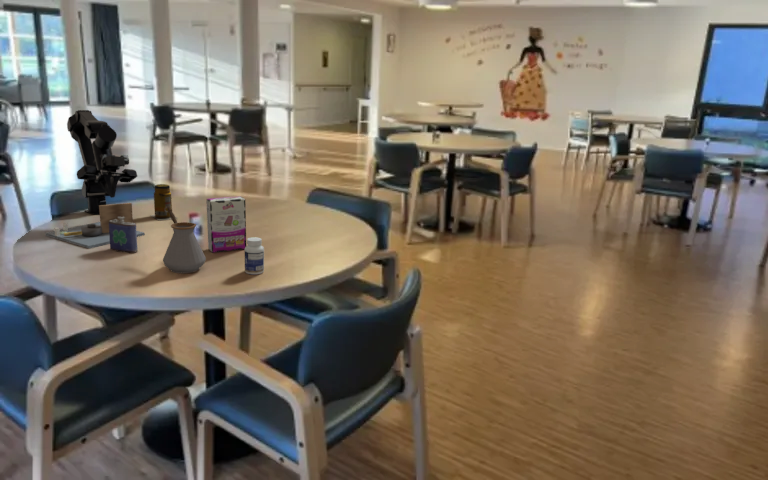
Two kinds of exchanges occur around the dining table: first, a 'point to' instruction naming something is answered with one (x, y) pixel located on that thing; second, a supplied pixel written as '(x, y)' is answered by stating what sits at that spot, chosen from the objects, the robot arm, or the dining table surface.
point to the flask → (123, 236)
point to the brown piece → (106, 219)
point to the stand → (83, 240)
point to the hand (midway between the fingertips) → (112, 197)
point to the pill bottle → (254, 256)
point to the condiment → (162, 202)
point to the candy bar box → (226, 223)
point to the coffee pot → (183, 248)
